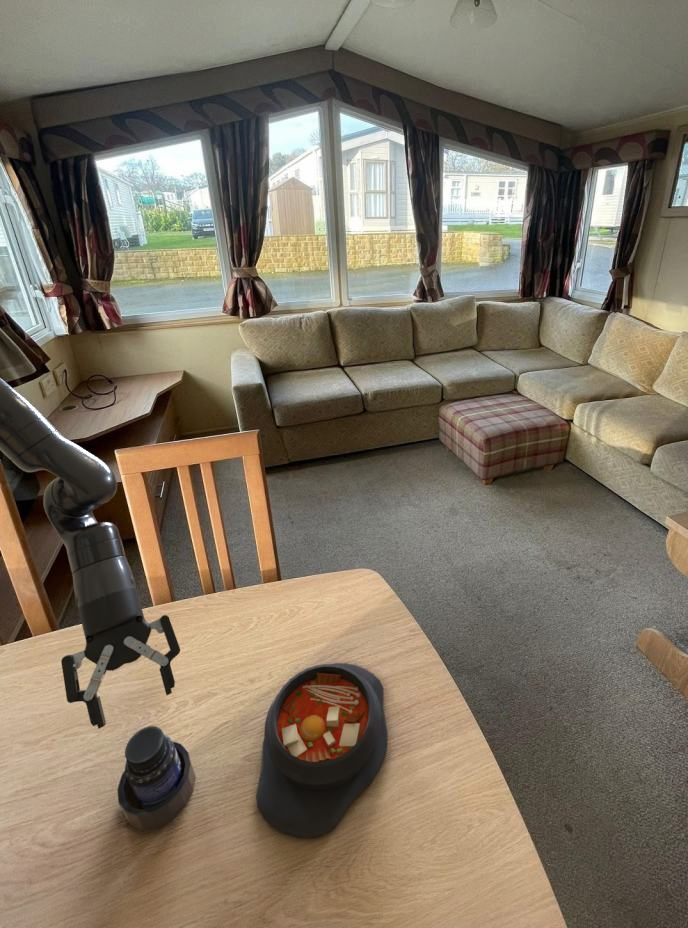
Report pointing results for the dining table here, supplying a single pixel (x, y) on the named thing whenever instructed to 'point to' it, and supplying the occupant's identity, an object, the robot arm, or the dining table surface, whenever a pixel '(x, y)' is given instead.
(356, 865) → the dining table surface
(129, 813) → the ring
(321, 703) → the casserole
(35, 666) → the dining table surface
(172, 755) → the pill bottle
